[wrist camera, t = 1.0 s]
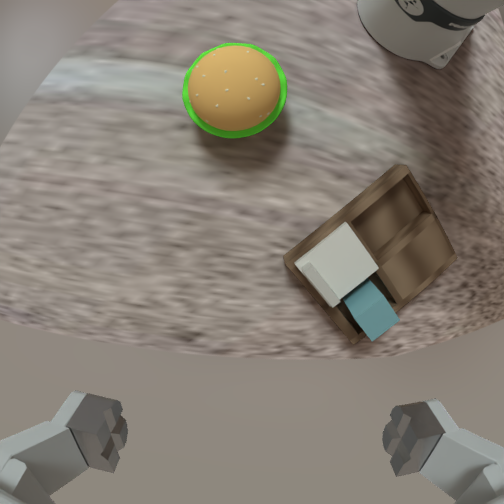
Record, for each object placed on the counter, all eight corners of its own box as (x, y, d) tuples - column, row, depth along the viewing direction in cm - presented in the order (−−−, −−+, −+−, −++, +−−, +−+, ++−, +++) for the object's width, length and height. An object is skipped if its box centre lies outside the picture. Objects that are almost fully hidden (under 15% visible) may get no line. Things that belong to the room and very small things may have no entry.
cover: (345, 221, 37) (351, 226, 34) (376, 266, 38) (384, 273, 36) (294, 262, 38) (297, 270, 36) (328, 304, 40) (333, 313, 37)
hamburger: (218, 158, 39) (208, 156, 30) (174, 83, 36) (154, 66, 27) (301, 113, 37) (312, 101, 28) (254, 40, 34) (253, 12, 26)
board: (395, 164, 38) (406, 165, 35) (445, 251, 41) (457, 258, 38) (283, 256, 42) (285, 264, 39) (347, 332, 45) (353, 345, 42)
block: (366, 275, 41) (384, 296, 35) (381, 297, 42) (399, 319, 36) (340, 295, 42) (354, 319, 36) (357, 316, 43) (372, 341, 37)
